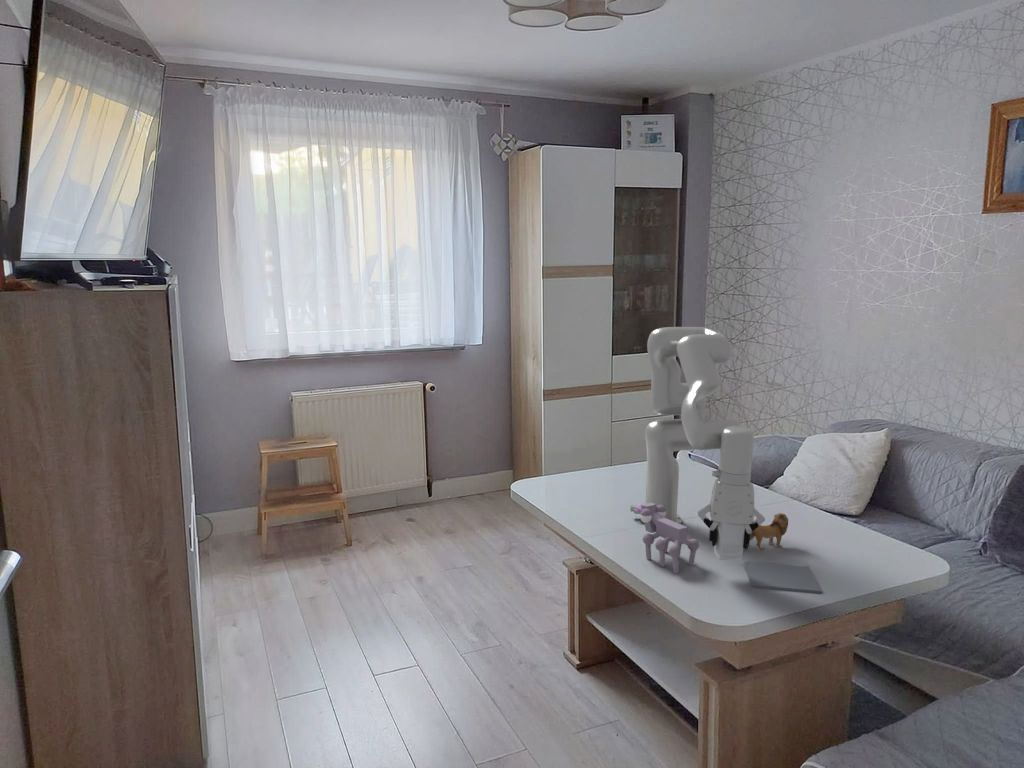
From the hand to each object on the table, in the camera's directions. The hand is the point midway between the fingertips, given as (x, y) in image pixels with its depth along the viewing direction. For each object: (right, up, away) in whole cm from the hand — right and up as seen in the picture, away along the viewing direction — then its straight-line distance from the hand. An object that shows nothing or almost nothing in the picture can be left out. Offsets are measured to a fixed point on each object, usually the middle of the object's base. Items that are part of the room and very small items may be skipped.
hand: (728, 544), depth 173 cm
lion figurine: (+17, -5, +21) cm, 27 cm away
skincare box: (0, -3, +1) cm, 4 cm away
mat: (+13, -9, +1) cm, 16 cm away
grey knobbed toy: (-14, -7, +13) cm, 21 cm away
